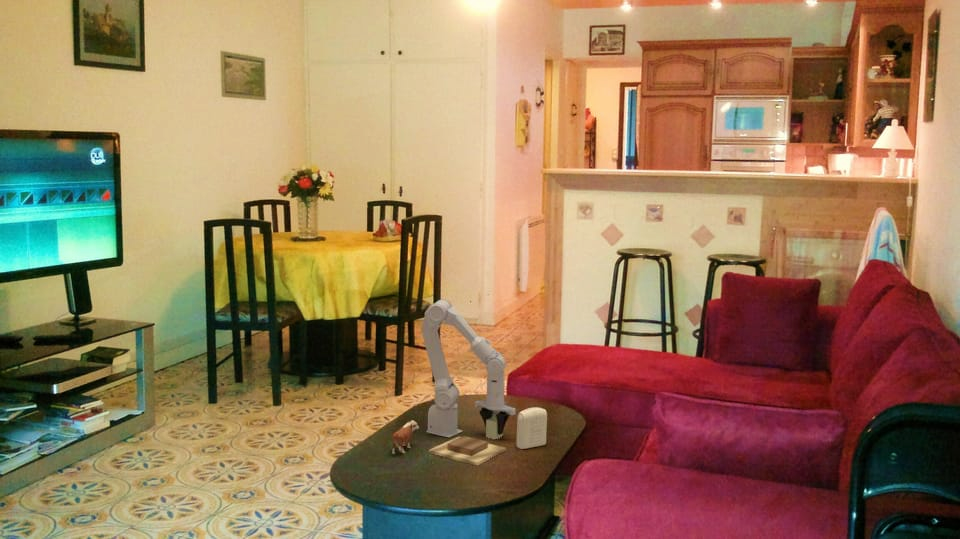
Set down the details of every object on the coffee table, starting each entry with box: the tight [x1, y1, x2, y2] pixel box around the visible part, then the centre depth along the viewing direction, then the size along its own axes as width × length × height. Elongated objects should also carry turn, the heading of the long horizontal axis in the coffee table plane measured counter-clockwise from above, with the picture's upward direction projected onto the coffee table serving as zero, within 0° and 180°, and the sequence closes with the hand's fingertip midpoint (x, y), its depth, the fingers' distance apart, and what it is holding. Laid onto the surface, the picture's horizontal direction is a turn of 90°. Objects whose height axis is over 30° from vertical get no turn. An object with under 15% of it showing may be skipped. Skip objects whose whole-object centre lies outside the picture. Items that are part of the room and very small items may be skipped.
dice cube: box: [492, 400, 509, 417], centre depth 306 cm, size 5×5×5 cm
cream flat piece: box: [428, 435, 507, 466], centre depth 269 cm, size 18×16×3 cm
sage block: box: [485, 417, 504, 440], centre depth 283 cm, size 4×4×6 cm
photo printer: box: [515, 407, 548, 450], centre depth 275 cm, size 10×4×12 cm, turn 123°
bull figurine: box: [391, 419, 420, 455], centre depth 269 cm, size 4×13×8 cm, turn 155°
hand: (494, 432), depth 283 cm, fingers closed on sage block, 4 cm apart
